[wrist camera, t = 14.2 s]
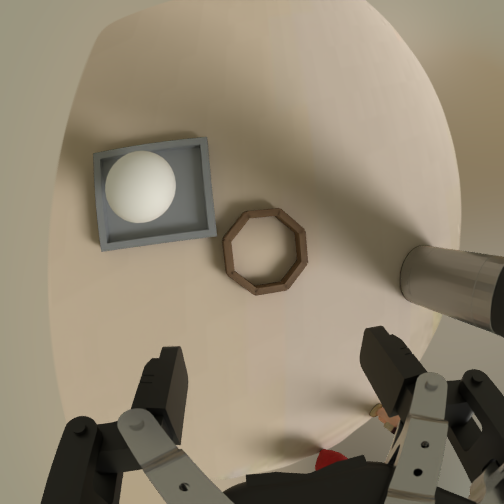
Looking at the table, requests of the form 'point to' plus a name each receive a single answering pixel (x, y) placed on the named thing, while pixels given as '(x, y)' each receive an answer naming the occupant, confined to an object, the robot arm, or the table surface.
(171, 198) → the lightbulb
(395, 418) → the grandmother figurine
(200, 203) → the tray
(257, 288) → the socket ring
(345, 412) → the table surface
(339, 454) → the decorative fruit
